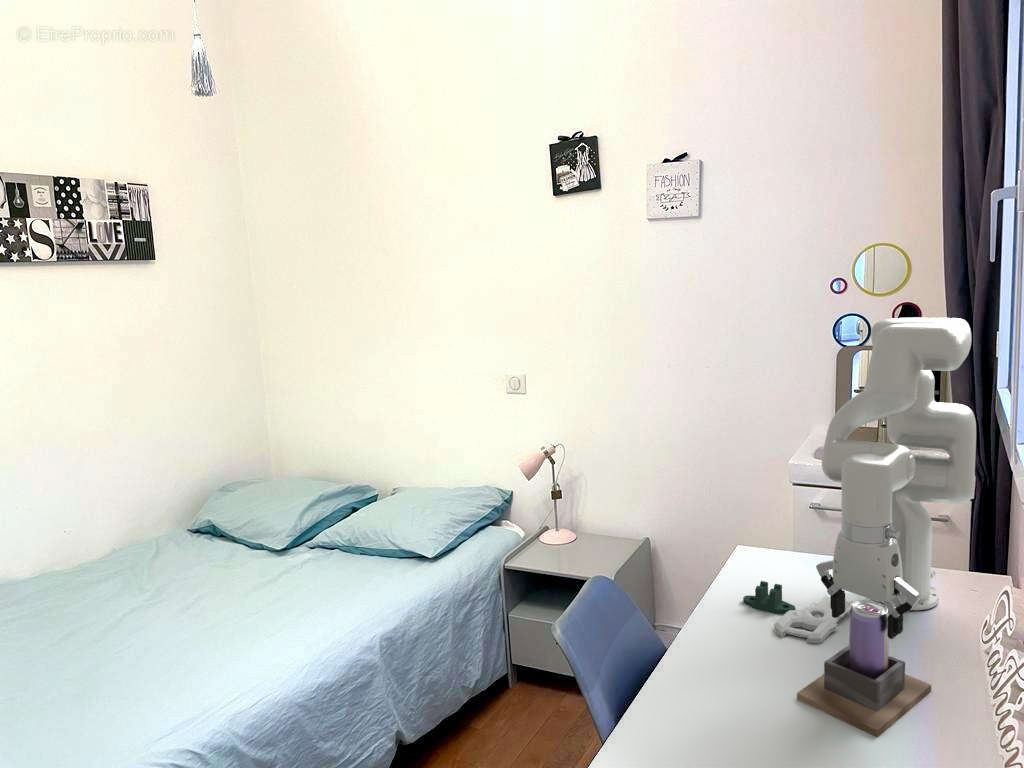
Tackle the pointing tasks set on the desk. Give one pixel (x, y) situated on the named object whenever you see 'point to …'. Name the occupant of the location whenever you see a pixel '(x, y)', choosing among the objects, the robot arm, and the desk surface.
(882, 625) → the beverage can
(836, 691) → the can dock
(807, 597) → the desk surface
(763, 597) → the mount
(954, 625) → the desk surface
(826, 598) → the grey mechanical plate
